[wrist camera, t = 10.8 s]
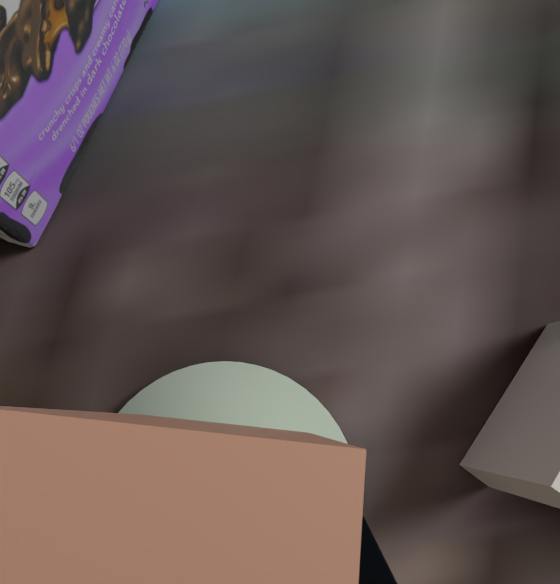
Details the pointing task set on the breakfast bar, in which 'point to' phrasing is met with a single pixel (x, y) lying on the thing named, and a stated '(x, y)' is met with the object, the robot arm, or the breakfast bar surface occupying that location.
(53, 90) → the candy box
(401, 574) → the breakfast bar surface
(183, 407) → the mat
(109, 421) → the block
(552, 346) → the bay
